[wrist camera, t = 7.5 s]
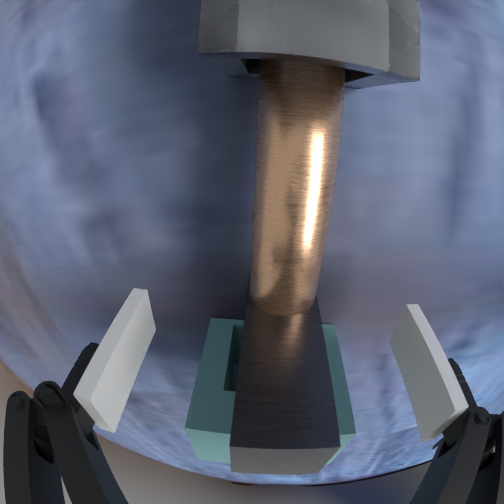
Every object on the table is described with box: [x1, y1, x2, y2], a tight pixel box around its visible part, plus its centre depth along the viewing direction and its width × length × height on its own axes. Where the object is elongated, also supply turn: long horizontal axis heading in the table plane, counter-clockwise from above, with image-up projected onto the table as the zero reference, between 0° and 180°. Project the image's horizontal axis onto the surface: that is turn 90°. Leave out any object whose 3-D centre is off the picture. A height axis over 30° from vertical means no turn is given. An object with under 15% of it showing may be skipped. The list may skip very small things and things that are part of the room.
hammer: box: [229, 59, 345, 474], centre depth 9 cm, size 20×3×9 cm, turn 178°
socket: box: [185, 318, 356, 465], centre depth 15 cm, size 5×8×8 cm, turn 88°
